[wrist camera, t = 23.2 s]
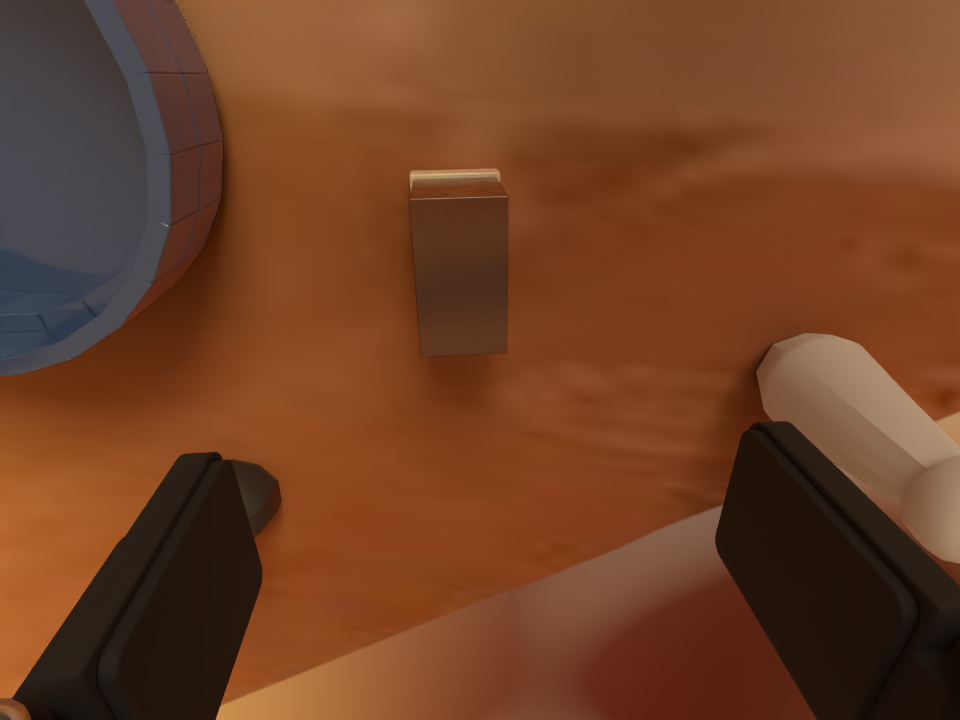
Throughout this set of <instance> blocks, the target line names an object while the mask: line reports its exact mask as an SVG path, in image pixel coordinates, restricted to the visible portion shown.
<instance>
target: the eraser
mask: <svg viewBox="0 0 960 720" xmlns="http://www.w3.org/2000/svg"><path fill="white" fill-rule="evenodd" d="M409 178H410V192H411V193H410V198H409V207H410V220H411V234H412V247H413V261H414V274H415V288H416V301H417V315H418V329H419V342H420V356H421V357H436V356H457V355H478V354H499V353H507V305H508V203H509V197H508V195H507V193H506V192H505V190H504V188H503V187H502V185H501V184H500V172H499V171H498V169H496V168H487V169H450V170H412V171H411V172H410V176H409Z"/></svg>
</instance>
